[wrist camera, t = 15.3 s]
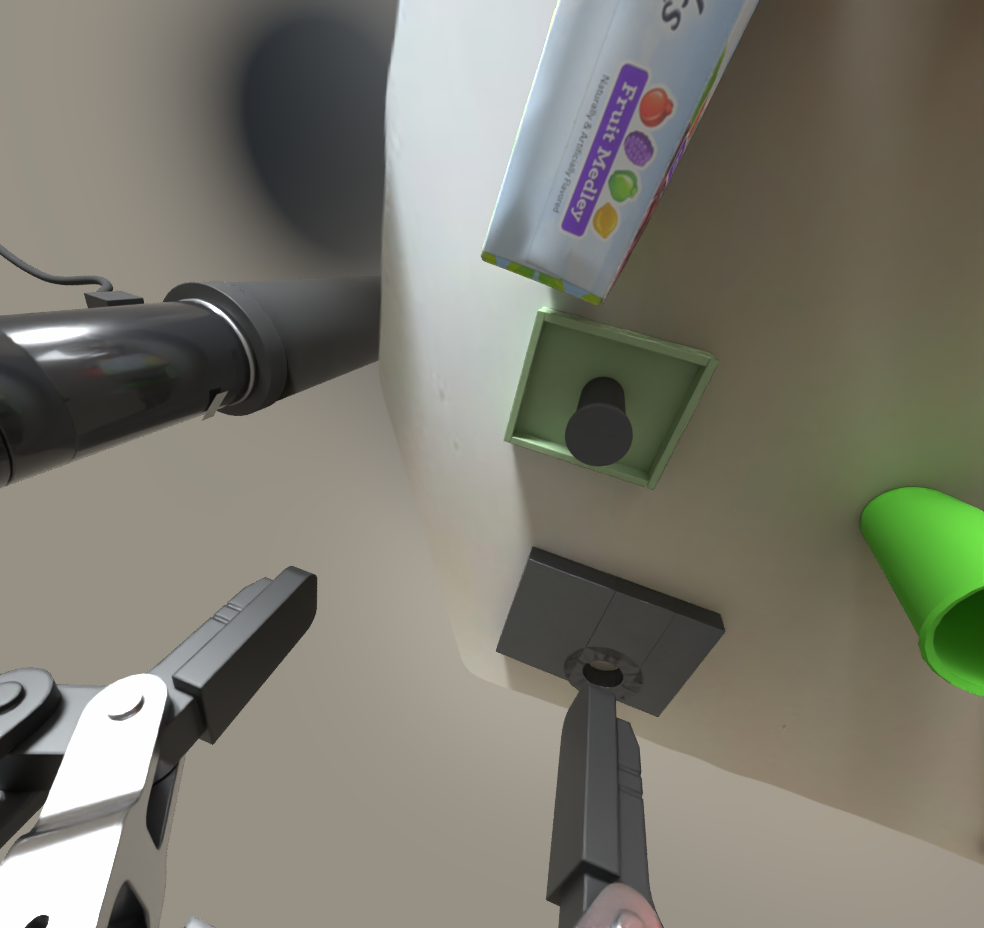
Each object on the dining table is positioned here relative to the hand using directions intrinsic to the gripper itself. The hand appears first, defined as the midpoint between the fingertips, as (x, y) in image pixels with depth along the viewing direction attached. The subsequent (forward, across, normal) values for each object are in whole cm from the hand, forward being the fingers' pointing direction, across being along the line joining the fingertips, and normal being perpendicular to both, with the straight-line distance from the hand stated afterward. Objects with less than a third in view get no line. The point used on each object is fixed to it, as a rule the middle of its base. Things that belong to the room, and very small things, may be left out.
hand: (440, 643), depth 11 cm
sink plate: (+24, -12, +21) cm, 34 cm away
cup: (+24, -27, 0) cm, 36 cm away
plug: (+23, -4, -2) cm, 23 cm away
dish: (+24, -4, -2) cm, 24 cm away
